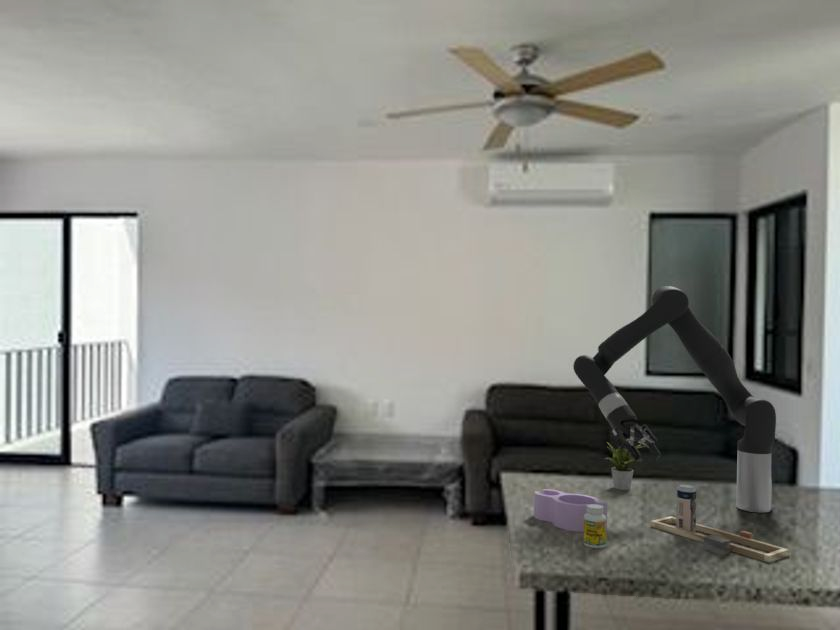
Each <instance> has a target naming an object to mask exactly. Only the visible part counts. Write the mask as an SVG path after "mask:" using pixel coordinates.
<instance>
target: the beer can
mask: <svg viewBox="0 0 840 630" xmlns="http://www.w3.org/2000/svg"><path fill="white" fill-rule="evenodd" d="M695 487H696V486H694V485H692V484H683V483H682V484H679V485H678V486H677V488H676V518H677V524H675V527H678V528H682V529H685V530H688V531H692V532H695V533H696V531H697V530H696V523H697V489H696V488H695Z"/></svg>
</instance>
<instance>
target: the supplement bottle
mask: <svg viewBox="0 0 840 630" xmlns="http://www.w3.org/2000/svg"><path fill="white" fill-rule="evenodd" d="M587 512H588V513H586V514H585V515H584V532H583V544H584V546H586V547H588V548H592V549H602V548H605V547H606V545H607V529H606V517H605V515H603V514H602V513H603V506H601V505H597V504H589V505H587Z"/></svg>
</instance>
